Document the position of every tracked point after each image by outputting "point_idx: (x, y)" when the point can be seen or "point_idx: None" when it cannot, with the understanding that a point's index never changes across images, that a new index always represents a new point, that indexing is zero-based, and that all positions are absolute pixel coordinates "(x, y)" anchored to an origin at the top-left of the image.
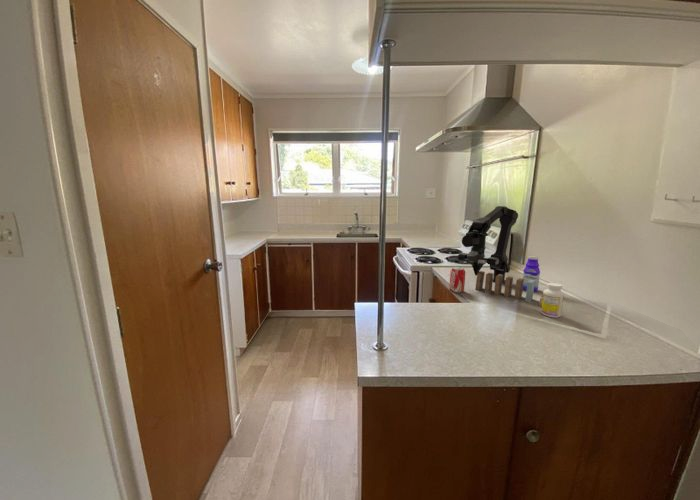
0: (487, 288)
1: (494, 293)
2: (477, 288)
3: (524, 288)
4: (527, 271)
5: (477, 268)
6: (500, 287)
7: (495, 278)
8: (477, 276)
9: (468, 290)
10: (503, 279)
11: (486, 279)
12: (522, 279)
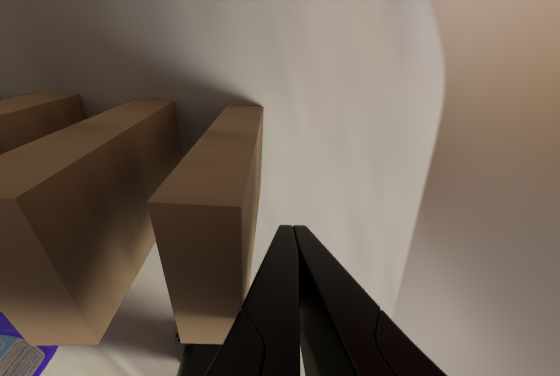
0: (126, 109)
1: (69, 95)
2: (241, 110)
3: None
4: None
5: (270, 342)
6: None
7: (214, 355)
8: (240, 163)
9: (312, 35)
10: (179, 366)
11: (78, 147)
12: None
